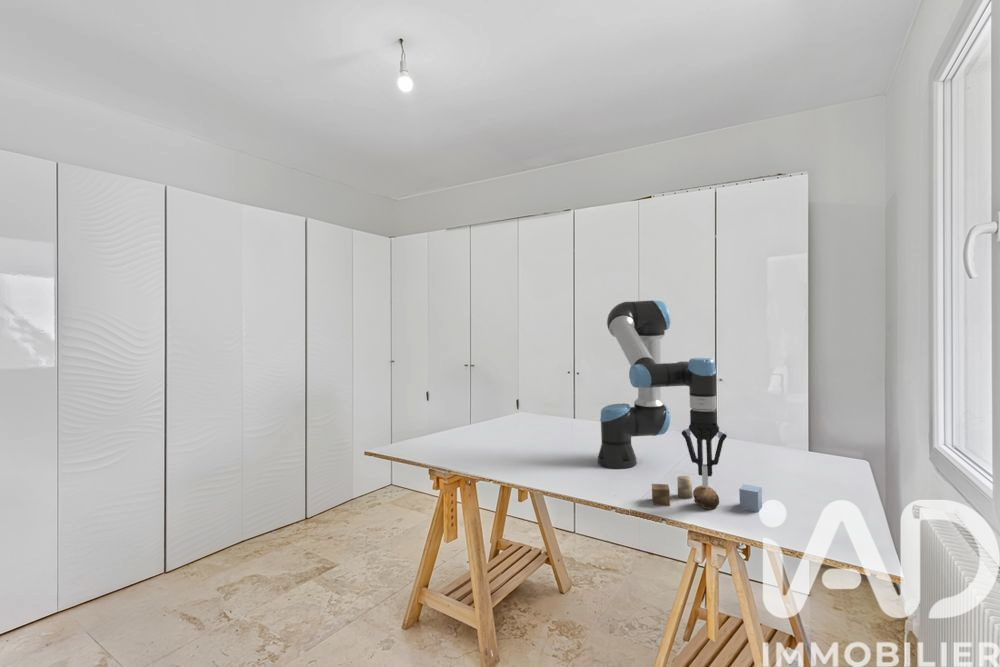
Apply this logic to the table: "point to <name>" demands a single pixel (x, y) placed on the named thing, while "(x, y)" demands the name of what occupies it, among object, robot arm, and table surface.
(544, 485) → the table surface
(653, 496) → the walnut block
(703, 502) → the mushroom
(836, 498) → the table surface
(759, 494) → the slate block
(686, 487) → the birch cylinder
